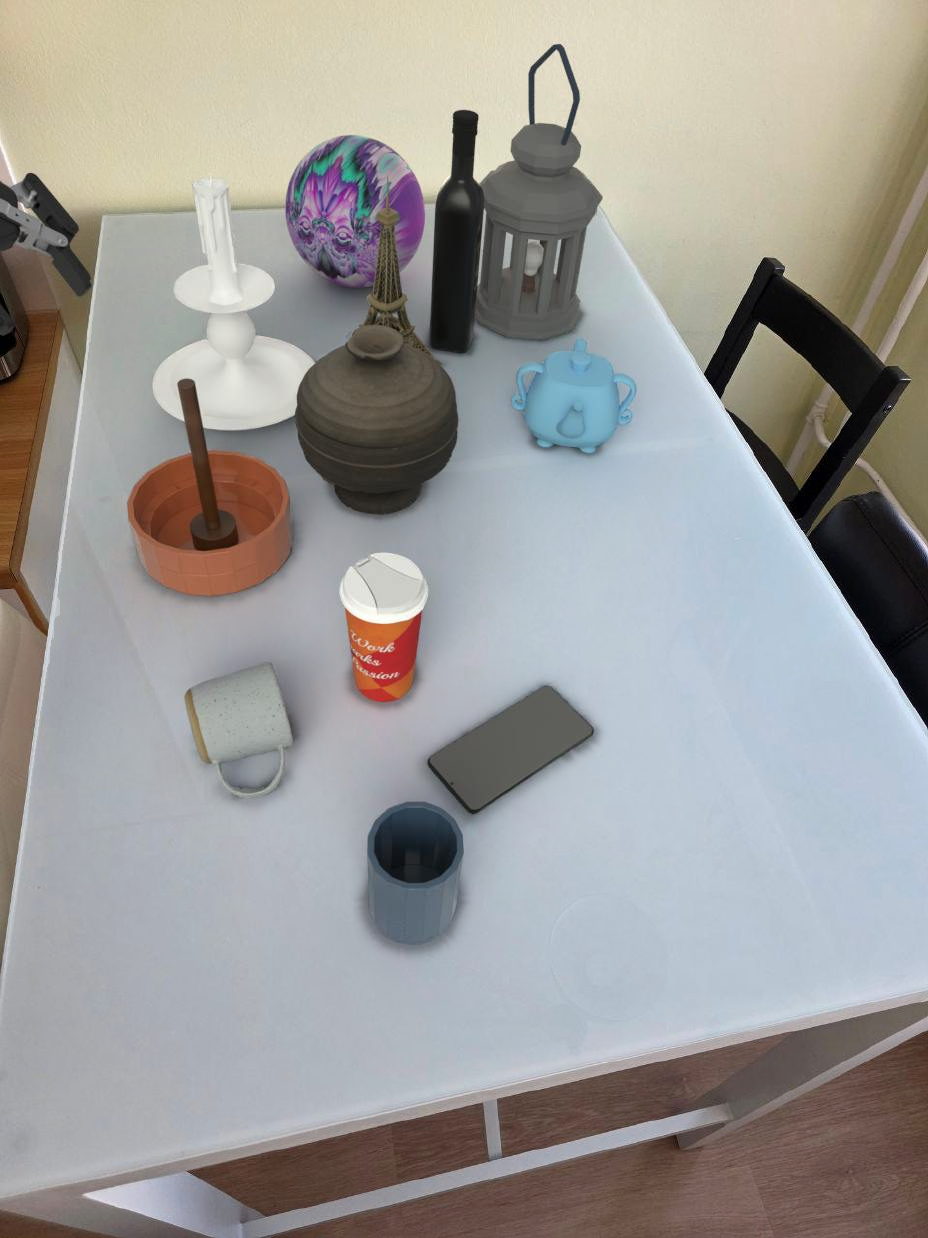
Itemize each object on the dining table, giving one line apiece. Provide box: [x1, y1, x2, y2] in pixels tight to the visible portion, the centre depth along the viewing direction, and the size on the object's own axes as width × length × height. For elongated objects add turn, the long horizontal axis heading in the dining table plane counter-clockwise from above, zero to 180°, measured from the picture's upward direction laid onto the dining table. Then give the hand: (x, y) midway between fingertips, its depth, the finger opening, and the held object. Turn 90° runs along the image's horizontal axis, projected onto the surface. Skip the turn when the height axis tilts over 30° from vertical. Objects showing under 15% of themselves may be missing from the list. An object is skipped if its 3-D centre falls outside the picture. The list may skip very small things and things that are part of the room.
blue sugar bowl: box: [510, 337, 638, 454], centre depth 112 cm, size 13×14×11 cm
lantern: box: [475, 43, 604, 341], centre depth 123 cm, size 17×17×35 cm
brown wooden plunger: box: [177, 379, 239, 551], centre depth 91 cm, size 5×5×20 cm
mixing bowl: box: [126, 449, 294, 597], centre depth 97 cm, size 16×16×6 cm
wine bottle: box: [428, 109, 485, 354], centre depth 118 cm, size 6×6×30 cm
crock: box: [366, 801, 465, 946], centre depth 70 cm, size 7×7×10 cm
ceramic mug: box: [184, 661, 294, 799], centre depth 79 cm, size 11×8×8 cm
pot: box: [294, 325, 459, 516], centre depth 100 cm, size 18×18×20 cm
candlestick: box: [152, 173, 316, 431], centre depth 107 cm, size 21×25×28 cm
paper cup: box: [338, 552, 429, 703], centre depth 83 cm, size 8×8×14 cm
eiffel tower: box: [358, 176, 443, 366], centre depth 115 cm, size 11×11×25 cm
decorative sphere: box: [284, 134, 426, 289], centre depth 131 cm, size 20×20×20 cm
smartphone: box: [427, 685, 595, 815], centre depth 84 cm, size 7×1×15 cm
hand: (49, 310), depth 81 cm, fingers open, 8 cm apart
